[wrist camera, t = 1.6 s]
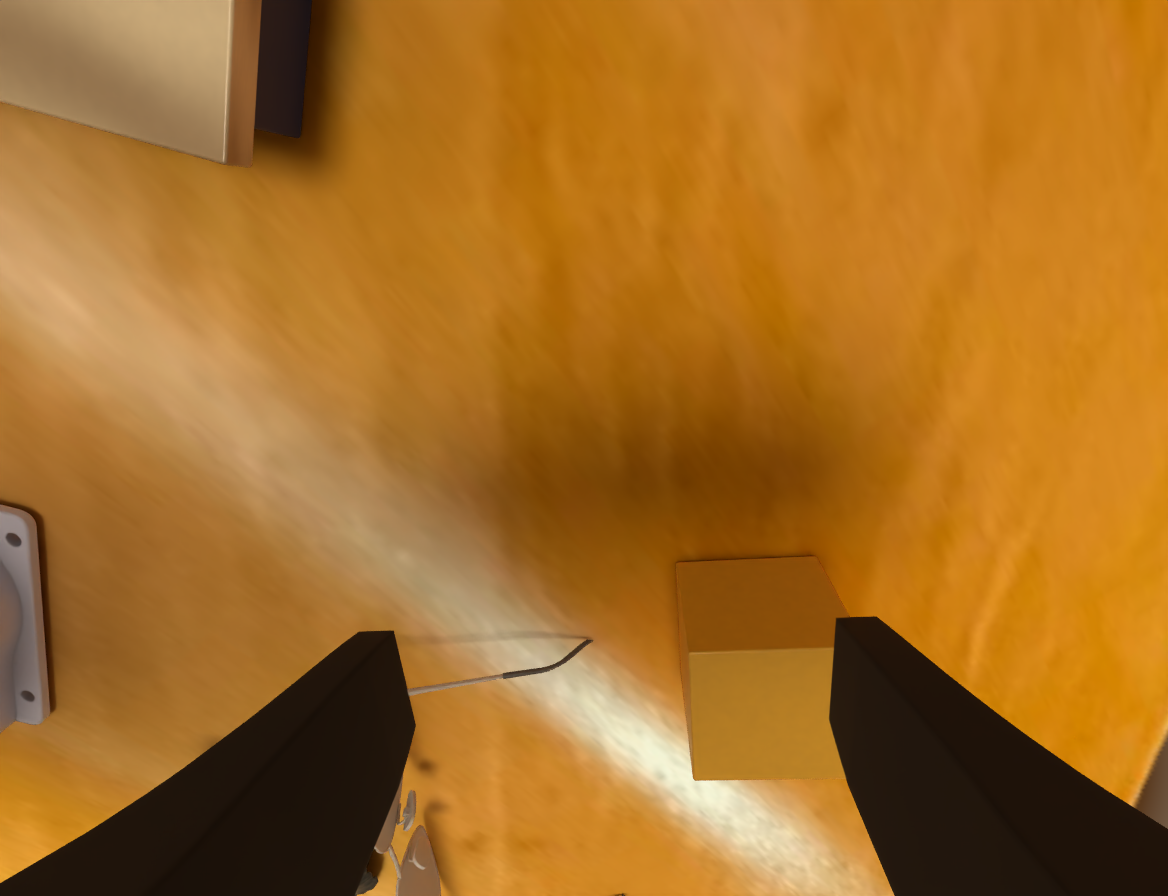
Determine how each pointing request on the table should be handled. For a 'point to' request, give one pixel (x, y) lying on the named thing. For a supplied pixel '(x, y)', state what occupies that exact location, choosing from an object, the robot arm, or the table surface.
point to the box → (161, 69)
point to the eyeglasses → (418, 866)
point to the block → (758, 667)
